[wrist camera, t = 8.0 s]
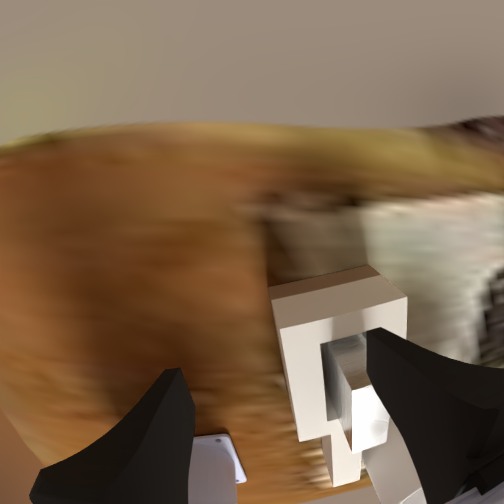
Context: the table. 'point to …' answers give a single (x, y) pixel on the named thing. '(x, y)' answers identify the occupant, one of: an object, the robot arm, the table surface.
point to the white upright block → (353, 392)
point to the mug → (393, 470)
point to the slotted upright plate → (324, 330)
